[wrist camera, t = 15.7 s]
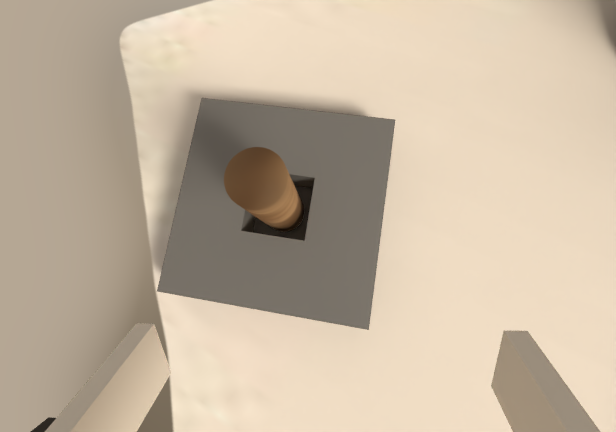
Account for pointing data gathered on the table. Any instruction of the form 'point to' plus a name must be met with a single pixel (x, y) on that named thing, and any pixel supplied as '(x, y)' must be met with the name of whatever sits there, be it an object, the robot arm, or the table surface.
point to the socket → (272, 249)
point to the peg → (264, 188)
